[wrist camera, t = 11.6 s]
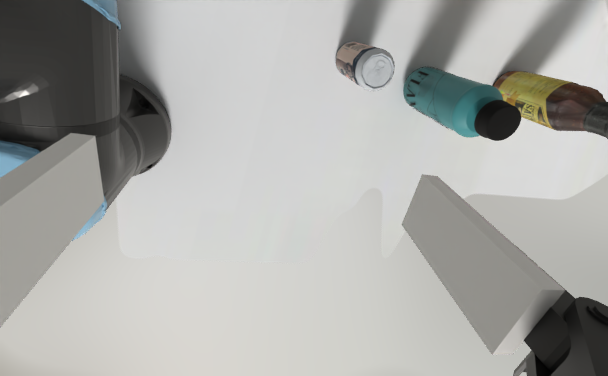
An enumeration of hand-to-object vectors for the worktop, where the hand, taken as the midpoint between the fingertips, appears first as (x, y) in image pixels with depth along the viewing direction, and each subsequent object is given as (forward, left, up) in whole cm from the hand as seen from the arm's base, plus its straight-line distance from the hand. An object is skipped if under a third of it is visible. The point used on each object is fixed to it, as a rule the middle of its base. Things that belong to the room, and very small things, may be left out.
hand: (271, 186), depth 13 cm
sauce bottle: (+41, +3, -37) cm, 55 cm away
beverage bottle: (+25, +1, -37) cm, 45 cm away
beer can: (+13, +3, -37) cm, 39 cm away
